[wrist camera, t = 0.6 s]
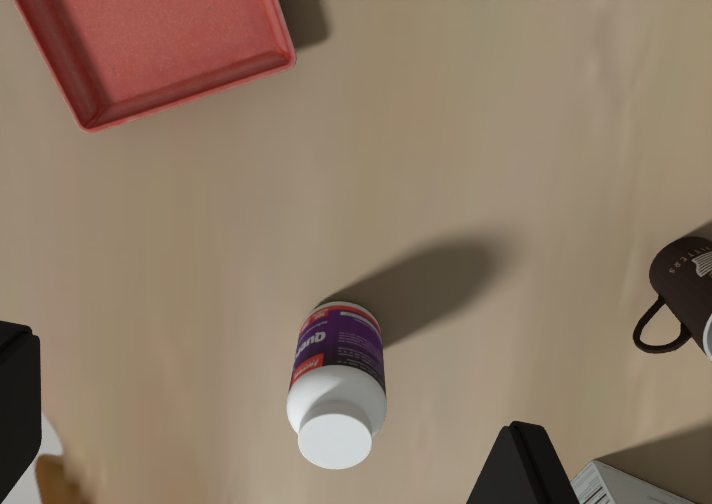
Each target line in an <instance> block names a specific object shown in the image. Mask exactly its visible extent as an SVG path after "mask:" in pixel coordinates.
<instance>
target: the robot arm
mask: <svg viewBox="0 0 712 504" xmlns="http://www.w3.org/2000/svg"><path fill="white" fill-rule="evenodd" d="M41 439H42V430H41V369H40V339H39V337H38V336H36V335H33V334H32V330H31V328H30V327H29V326H26V325H21V324H16V323H10V322H5V321H0V504H1V503H2V502H3V500H4V499H5V498H6V496H7V495H8V494H9V492H10V491H11V490H12V488H13V487H14V486H15V484H16V483H17V481H18V480H19V479H20V477H21V476H22V475H23V473H24V472H25V471H26V469H27V468H28V467H29V465H30V464H31V463H32V461H33V460H34V458H35V457H36V455H37V453H38V451H39V448H40V445H41ZM466 504H580V503H579V500H578V498H577V496H576V494H575V492H574V490H573V488H572V485H571V483H570V481H569V479H568V477H567V475H566V473H565V471H564V468H563V466H562V464H561V462H560V460H559V458H558V456H557V454H556V451H555V449H554V447H553V445H552V443H551V441H550V439H549V436H548V434H547V432H546V430H545V429H544V427H542V426H540V425H535V424H530V423H525V422H520V421H513V422H512V423H511V424H510V426H509V427H508V426H504V427H503V428H502V429H501V431H500V433H499V435H498V437H497V439H496V441H495V443H494V445H493V447H492V450H491V452H490V454H489V456H488V458H487V460H486V462H485V464H484V467H483V469H482V471H481V473H480V475H479V477H478V479H477V482H476V484H475V486H474V488H473V490H472V492H471V494H470V496H469V499H468V501H467V503H466Z"/></svg>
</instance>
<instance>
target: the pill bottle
mask: <svg viewBox="0 0 712 504" xmlns="http://www.w3.org/2000/svg"><path fill="white" fill-rule="evenodd" d="M386 412H387V400H386V389H385V376H384V361H383V347H382V334H381V330H380V326H379V324H378V322H377V320H376V319H375V317H374V316H373V315H372V314H371V313H370V312H369V311H367V310H366V309H365V308H363V307H361V306H359V305H357V304H353V303H349V302H342V301H337V302H330V303H326V304H323V305H321V306H319V307H317V308H316V309H314V310H313V311H312V312H311V313H310V314H309V315H308V316H307V317H306V318H305V320H304V322H303V324H302V326H301V329H300V333H299V339H298V345H297V350H296V356H295V361H294V367H293V372H292V377H291V383H290V388H289V393H288V399H287V414H288V418H289V421H290V423H291V425H292V427H293V429H294V430H295V431H296V432H297V434H298V445H299V448H300V450H301V452H302V454H303V455H304V456H305V457H306V459H308V460H309V461H310V462H312V463H313V464H315V465H318V466H320V467H323V468H328V469H344V468H348V467H352V466H354V465H356V464H358V463H360V462H361V461H362V460H364V459H365V458H366V457H367V455H368V454H369V452H370V450H371V447H372V437H373V436H375V434H376V433H377V432H378V431H379V429H380V428H381V426H382V424H383V422H384V420H385V417H386Z"/></svg>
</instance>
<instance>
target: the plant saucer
mask: <svg viewBox="0 0 712 504" xmlns="http://www.w3.org/2000/svg"><path fill="white" fill-rule="evenodd" d="M13 2H14V4H15V6H16V8H17V10H18V12H19V14H20V15H21V17H22V19H23V21H24V23H25V25H26V27H27V28H28V31H29V33H30V35H31V37H32V39H33V41H34V42H35V44H36V46H37V48H38V50H39V52H40V54H41V56H42V58H43V60H44V62H45V64H46V66H47V68H48V69H49V71H50V73H51V75H52V77H53V79H54V81H55V83H56V85H57V87H58V89H59V91H60V93H61V95H62V97H63V99H64V101H65V103H66V104H67V106H68V108H69V110H70V112H71V114H72V116H73V118H74V120H75V122H76V124H77V125H78V127H79V128H80V129H81V130H82V131H83V132H85V133H88V134H92V133H96V132H99V131H102V130H105V129H108V128H112V127H115V126H118V125H122V124H125V123H127V122H130V121H133V120H137V119H140V118H143V117H146V116H149V115H152V114H155V113H158V112H162V111H165V110H168V109H171V108H173V107H176V106H179V105H183V104H186V103H188V102H192V101H194V100H198V99H201V98H204V97H207V96H210V95H213V94H216V93H219V92H222V91H225V90H228V89H230V88H234V87H237V86H240V85H243V84H246V83H249V82H252V81H255V80H258V79H261V78H265V77H268V76H271V75H274V74H277V73H280V72H283V71H286V70H289V69H291V68H292V67H293V66H294V65H295V63H296V59H297V56H296V52H295V49H294V46H293V42H292V39H291V36H290V33H289V30H288V27H287V24H286V21H285V18H284V15H283V12H282V9H281V6H280V3H279V0H13Z"/></svg>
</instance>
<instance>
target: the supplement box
mask: <svg viewBox="0 0 712 504" xmlns="http://www.w3.org/2000/svg"><path fill="white" fill-rule="evenodd" d="M570 483H571V485H572V488H573V490H574V492H575V494H576V496H577V498H578V500H579V503H580V504H695V503H693V502H691V501H688V500H686V499H684V498H681V497H679V496H677V495H674V494H672V493H670V492H667V491H665V490H663V489H661V488H658V487H656V486H654V485H651V484H649V483H647V482H645V481H642V480H640V479H638V478H636V477H633V476H631V475H629V474H627V473H624V472H622V471H620V470H618V469H615V468H613V467H611V466H609V465H606V464H604V463H602V462H599V461H597V460H592V461H591V462H589V463H588V464H587V465H586V466H585V468H584V469H583V470H582V471H581V472H580V473H579V474H578V475H577V476H576V477H575V478H574V479H573V480H572V481H571V482H570Z"/></svg>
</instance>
